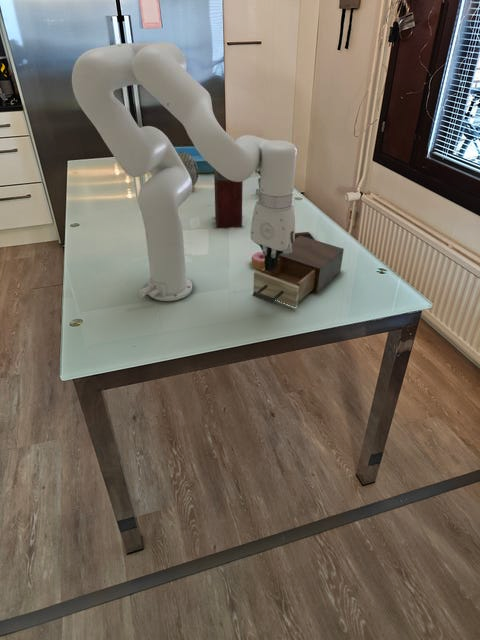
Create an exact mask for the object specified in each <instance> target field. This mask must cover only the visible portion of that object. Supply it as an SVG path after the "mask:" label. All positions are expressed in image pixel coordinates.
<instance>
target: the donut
mask: <svg viewBox="0 0 480 640" xmlns="http://www.w3.org/2000/svg"><path fill="white" fill-rule="evenodd" d="M264 261H265V255H264V254H263V251H258V252H255V253H253V254H252V255H251V266H252V268H253V269H256V270H257V271H261V270H262V269H263V268H265V264H264Z"/></svg>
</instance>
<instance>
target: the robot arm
mask: <svg viewBox="0 0 480 640" xmlns="http://www.w3.org/2000/svg"><path fill="white" fill-rule="evenodd" d="M187 65H188V64H187V60H186V56H185V55H184V52H183V51H182V50H181V48H179V47H178V45H176V44H175V43H172V42H169V41H157V42H155V41H154V42H131V43H129V42H127V43H126V42H125V43H116V44H111V45H106V46H98V47H95V48H92V49H89V50H86V51H85V52H84V53H82V54H81V55H80V56H79V57H78V58H77V59H76V61H75V63H74V65H73V68H72V72H71V73H72V74H71V87H72V91H73V95H74V97H75V100H76V101H77V103H78V105H79V107H80V109H81V110H82V111H83V113H84V114H85V115H86V117H87V118H88V119H89V121H90V122H91V123H92V125H93V126H94V127H95V129H96V130H97V132H98V133H99V136H100V137H101V138H102V140H103V142H104V143H105V145H106V147H107V148H108V149H109V151H110V152H111V154H112V156H113V158H114V159H115V160H116V162H117V163H118V165H119V167H121V169H122V171H124V173H125V174H127V175H128V176H129V177H131V178H132V177H133V178H139V177H143V176H144V175H146V174H148V173H150V175H151V177H150V178H148V179H147V180H146V181H145V182H144V183H143V184H142V185H141V187H140V189H139V192H138V195H137V203H138V208H139V211H140V214H141V218H142V222H143V227H144V231H145V240H146V246H147V256H148V264H149V273H150V274H149V275H150V278H148V279H147V283H146V286H144V287H143V288H141V289H139V290H138V294H139V296H140V297H142V298H143V297H145V296H146V295H148V296H149V297H150V298H151V299H154V300H156V301H161V302H174V301H179V300H181V299H183V298H185V297H187V296H189V295H190V294H191V292H192V290H193V283H192V280H190V279H189V278H187V275H186V272H187V271H186V258H185V244H184V243H185V242H184V230H183V223H182V220H181V218H180V215H179V208H180V207H181V205H183V203H185V201H186V200H187V199H188V198H189V197H190V195H191V194H192V192H193V187H192V180H191V177H190V175H189V173H188V171H187V169H186V167H185V166H184V164H183V162H182V161H181V159H180V157H179V155H178V154H177V152H176V150H175V149H174V147H175V146H174V145H173V144H172V141H171V140H170V139H169V138H168V136H167V135H166V134H165V133H164V132H163V131H162V130H161V129H158V128H157V127H156V126H152V125H146V126H141V127H139V125H138V123H137V122H136V121H135V118H134V117H133V116H132V114H131V112H130V111H129V109H128V108H127V107H126V106H125V104H123V102H121V100H119V99H118V98H117V97H116V96H115V94H114V92H115V91H116V90H120V89H122V88H126V87H128V86H138V85H139V86H140V85H141V87H143V88H144V89H145V91H147V92H148V93H149V94H150V95H151V96H152V97H153V98H154V99H155V100H156V101H157V102H159V103H160V104H161V106H163V108H165V109H166V110H167V111H168V112H169V113H170V114H171V115H172V116H173V117H175V119H177V120H178V121H179V123H181V124H182V126H183V127H184V130H185V131H186V133H187V136H188V137H189V139H190V140H191V143H192V144H193V147H194V146H195V148H196V149H197V151H198V152H199V153H200V155H201V156H202V157H203V158H204V159H205V160H206V161H207V162H208V163H209V164H210V165H211V166H212V167H213V168H214V169H215V170H217V171H218V172H219V173H220V174H221V175H223V176H224V177H225V178H227V179H229V180H231V181H235V182H241V181H243V182H244V181H247V180H248V179H249V178H250V177H252V175H253V174H255V171H256V170H258V171H259V170H260V171H261V176H260V175H259V178H260V189H259V188H256V189H255V194H256V195H257V196H258V200H256V201H255V204H254V208H253V213H252V217H251V225H250V239H251V241H252V242H253V243H255V244H256V245H258V246H259V247H260V249H261V250H262V252H263V254H264V255H265V261H264V264H265V270H268V271H269V272H271V271H272V270H274V269H275V268H276V267H277V266H278V256H279V255H280V254H281V253H283V254H290V253H291V252H292V251H293V250H292V245H293V243H294V238H295V233H296V211H295V206H294V205H293V196H294V184H295V175H296V174H295V173H296V164H297V147H296V145H295V144H294V143H292V142H290V141H287V140H281V139H275V140H271V139H267V138H264V137H259V136H257V135H252V134H245V135H241V136H240V137H238V138H237V139H235V140H234V139H233V138H232V136H231V135H229V134H228V133H227V132H226V131H225V130H224V129H223V127H222V126H221V125H220V123H219V122H218V120H217V118H216V116H215V113H214V111H213V110H214V109H213V104H212V97H211V94H210V92H208V90H207V89H206V88H205V87H203V86H202V84H200V83H199V82H198V81H197V80H196V79H195V78H194V77H193V76H192V75H191V74H190V73H189V72H188V71H187V68H188V67H187Z"/></svg>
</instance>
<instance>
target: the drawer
mask: <svg viewBox="0 0 480 640" xmlns="http://www.w3.org/2000/svg"><path fill="white" fill-rule="evenodd" d="M316 278H317V270H315V269H312V268H309V267H306V266H303V265H300V264H297V263H294V262H291V261H288V260H285V259H282V258H278V266H277V267H276V268H275V269H274V270H272V271H271V272H269V271H268V270H265V268H263V269H262V270H260V271H259V270H255V271H254V272H253V293H252V296H253V297H255V298H257V299H260V300H261V301H264V302H267V303H270V304H271V305H272V304H275V303H276V302H277V303H280V304H283V303H285V304H283V305H285V306H288V305H290V306H289V307H290V308H293V307H296V306H297V307H296V308H298V305H299V302H300V301H301V300H303V299H304V298H305V297H306V296H307V295H308V294H310V293H311V292H310V291H312V290H313V289H314V288H315V287H316ZM275 300H278V301H280V302H278V301H275ZM281 302H282V303H281ZM286 304H288V305H286ZM291 306H293V307H291Z"/></svg>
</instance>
